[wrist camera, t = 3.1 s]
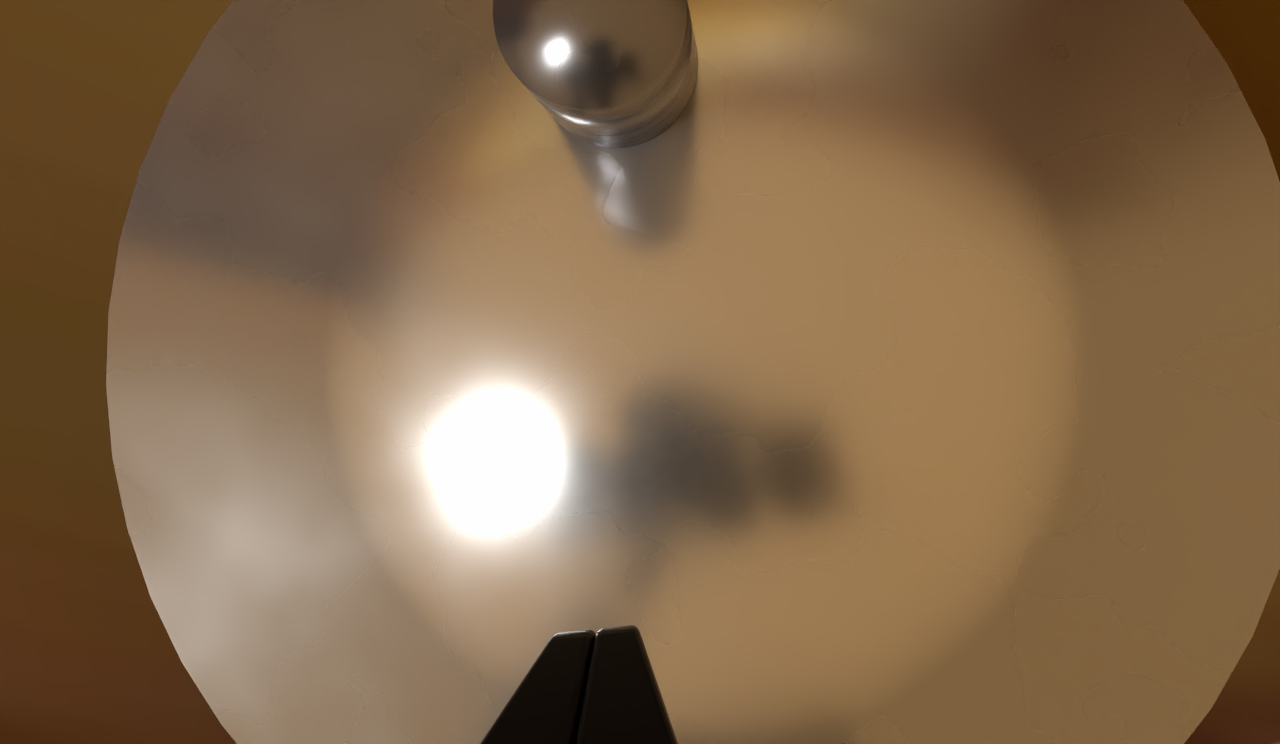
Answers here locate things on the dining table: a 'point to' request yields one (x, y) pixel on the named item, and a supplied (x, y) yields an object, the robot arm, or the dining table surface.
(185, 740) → the dining table surface
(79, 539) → the dining table surface
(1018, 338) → the lid
